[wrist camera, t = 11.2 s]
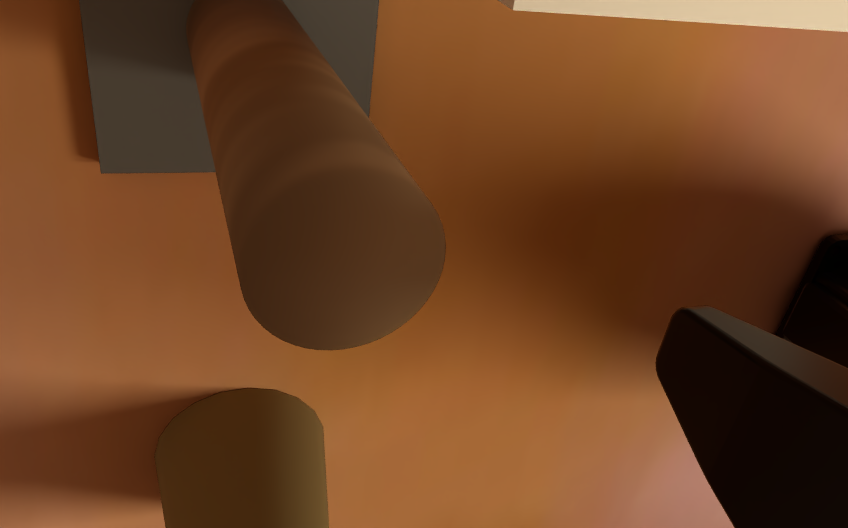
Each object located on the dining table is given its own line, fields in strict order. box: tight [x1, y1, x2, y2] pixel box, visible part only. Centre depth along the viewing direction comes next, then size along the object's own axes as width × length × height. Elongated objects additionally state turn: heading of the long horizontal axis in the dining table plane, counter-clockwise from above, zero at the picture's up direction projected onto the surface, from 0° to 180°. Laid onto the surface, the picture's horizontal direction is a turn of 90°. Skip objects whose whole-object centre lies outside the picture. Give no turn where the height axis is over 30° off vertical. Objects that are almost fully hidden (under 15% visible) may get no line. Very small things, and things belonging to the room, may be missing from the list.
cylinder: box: [186, 0, 446, 350], centre depth 13 cm, size 3×3×11 cm
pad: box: [79, 0, 379, 173], centre depth 18 cm, size 7×7×1 cm
